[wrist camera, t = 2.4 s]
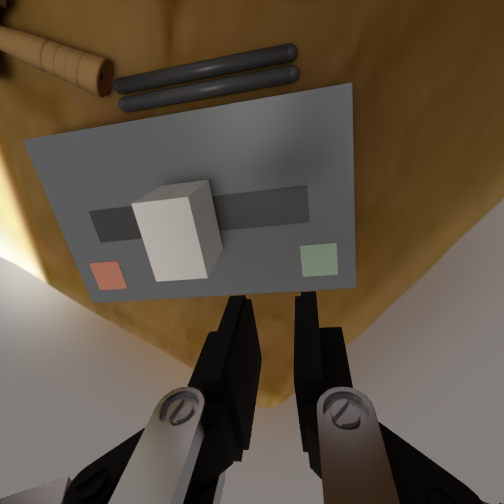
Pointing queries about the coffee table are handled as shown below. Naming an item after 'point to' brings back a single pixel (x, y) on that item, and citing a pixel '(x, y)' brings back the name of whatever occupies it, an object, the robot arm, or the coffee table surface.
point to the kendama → (58, 59)
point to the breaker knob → (179, 230)
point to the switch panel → (213, 181)
